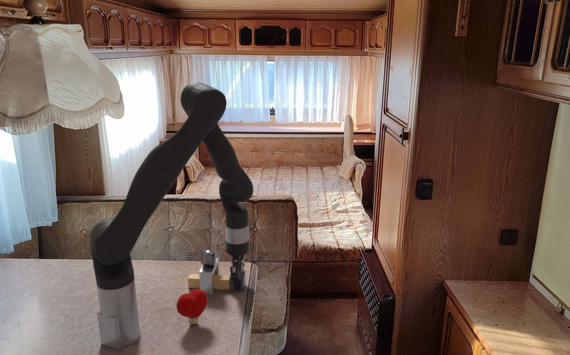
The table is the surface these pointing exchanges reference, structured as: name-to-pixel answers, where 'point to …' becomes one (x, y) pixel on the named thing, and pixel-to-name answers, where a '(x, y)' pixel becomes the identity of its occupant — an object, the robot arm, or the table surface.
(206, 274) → the housing
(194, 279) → the plug
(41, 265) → the table surface
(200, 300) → the red heart ornament
